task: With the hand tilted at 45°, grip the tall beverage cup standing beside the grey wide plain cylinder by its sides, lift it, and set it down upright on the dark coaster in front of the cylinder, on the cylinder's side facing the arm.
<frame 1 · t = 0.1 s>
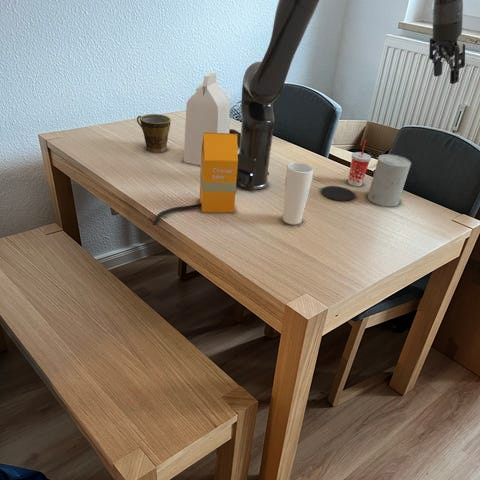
hand: (445, 79, 141), 31 cm above the table, tool tilted 20°, fingers open, 8 cm apart
hairbrush: (242, 142, 175), on the table
orange juice: (216, 206, 133), on the table
ceramic cup: (152, 148, 163), on the table
coaster: (337, 194, 146), on the table
beverage cup: (354, 183, 155), on the table
drinking glass: (291, 221, 130), on the table
grey wide plain cylinder: (382, 200, 146), on the table
milk: (206, 159, 159), on the table
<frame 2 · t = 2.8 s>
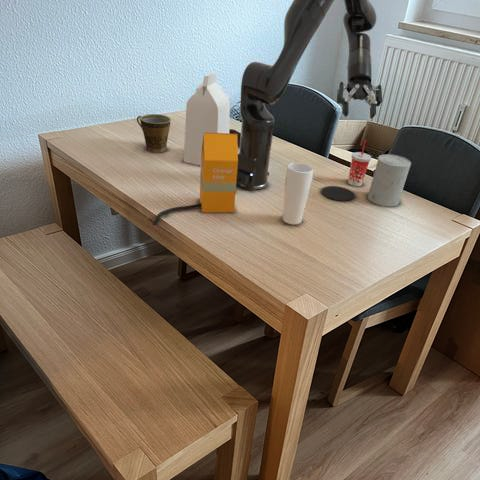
hand: (359, 116, 152), 18 cm above the table, tool tilted 45°, fingers open, 8 cm apart
nothing on the table moved.
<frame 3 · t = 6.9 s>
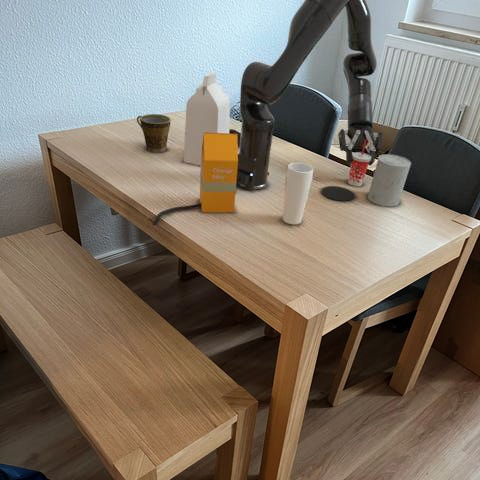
hand: (360, 163, 150), 7 cm above the table, tool tilted 45°, fingers closed on beverage cup, 6 cm apart
beverage cup: (354, 183, 155), on the table, touching gripper
everything else where it was.
when the fingers open (7 cm above the table, at t = 15.5 s): beverage cup stays where it is, resting on coaster.
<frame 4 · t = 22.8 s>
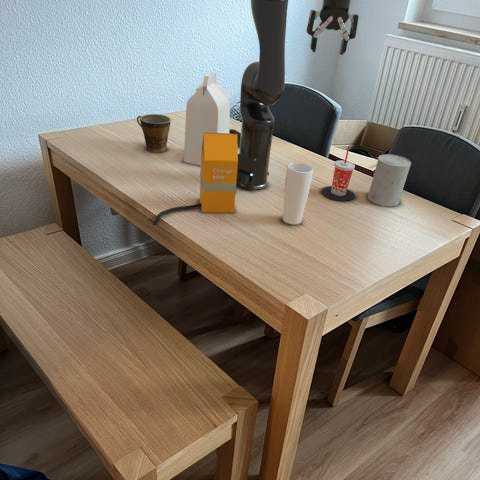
hand: (327, 53, 142), 34 cm above the table, tool pointing down, fingers open, 8 cm apart
beverage cup: (338, 193, 146), resting on coaster
everything else where it was.
at the end: beverage cup 0.3 cm from the target spot on the table beside the grey wide plain cylinder, resting on coaster; beverage cup tilted 0°; grey wide plain cylinder moved 0.2 cm from its start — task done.
